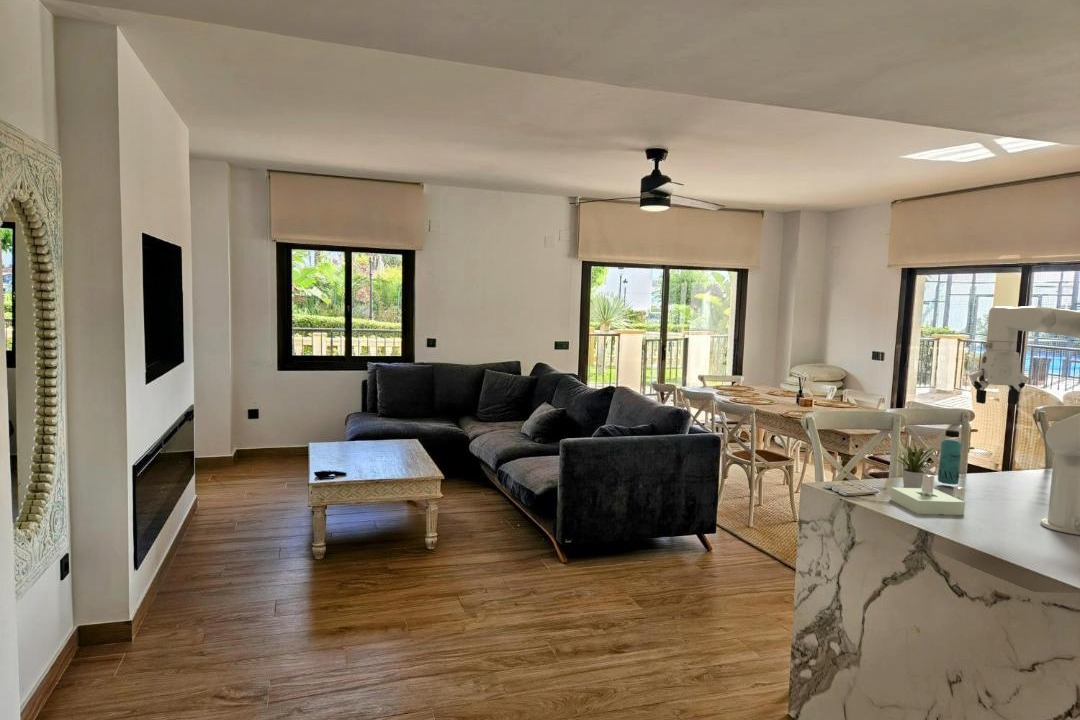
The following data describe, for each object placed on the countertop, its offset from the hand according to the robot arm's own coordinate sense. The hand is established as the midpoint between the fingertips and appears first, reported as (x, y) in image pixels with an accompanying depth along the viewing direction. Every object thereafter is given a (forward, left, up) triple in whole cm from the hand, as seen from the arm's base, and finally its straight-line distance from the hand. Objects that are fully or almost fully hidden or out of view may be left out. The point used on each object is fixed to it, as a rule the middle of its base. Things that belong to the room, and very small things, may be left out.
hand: (996, 403), depth 201 cm
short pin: (+8, +4, -33) cm, 34 cm away
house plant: (+24, +8, -34) cm, 42 cm away
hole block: (+2, +18, -33) cm, 38 cm away
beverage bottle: (+29, -6, -34) cm, 45 cm away
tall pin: (+2, +18, -33) cm, 38 cm away
